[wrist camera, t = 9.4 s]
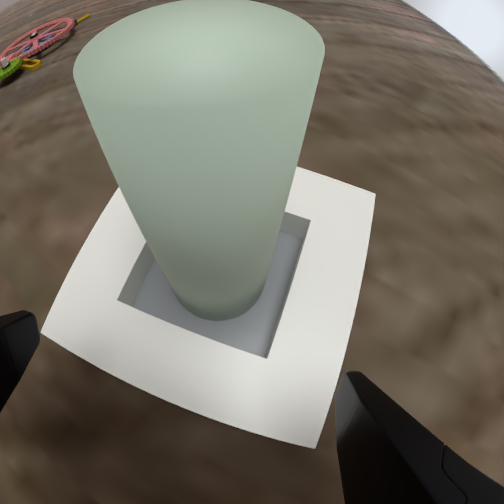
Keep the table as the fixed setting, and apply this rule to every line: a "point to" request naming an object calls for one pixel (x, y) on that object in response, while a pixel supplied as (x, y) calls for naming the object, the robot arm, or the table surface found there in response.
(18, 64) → the mechanical gear assembly
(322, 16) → the table surface
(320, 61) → the green post
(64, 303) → the socket block
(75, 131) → the table surface
